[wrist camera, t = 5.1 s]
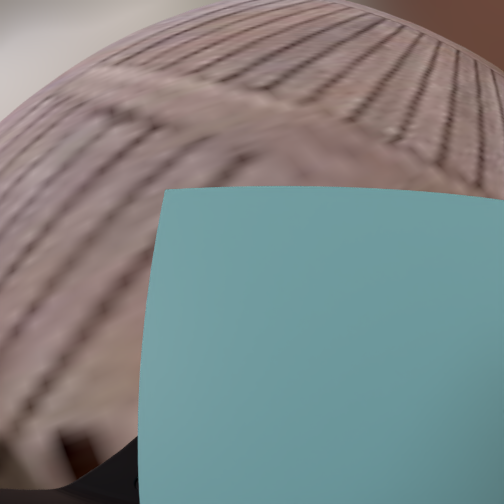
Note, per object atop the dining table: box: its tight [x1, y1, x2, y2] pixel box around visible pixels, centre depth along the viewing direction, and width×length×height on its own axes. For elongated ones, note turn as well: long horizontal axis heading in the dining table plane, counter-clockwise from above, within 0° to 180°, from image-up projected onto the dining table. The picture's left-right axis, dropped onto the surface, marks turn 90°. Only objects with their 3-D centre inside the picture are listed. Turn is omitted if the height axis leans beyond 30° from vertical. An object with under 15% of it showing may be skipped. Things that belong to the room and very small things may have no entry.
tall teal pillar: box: [138, 186, 504, 504], centre depth 8 cm, size 4×5×13 cm
